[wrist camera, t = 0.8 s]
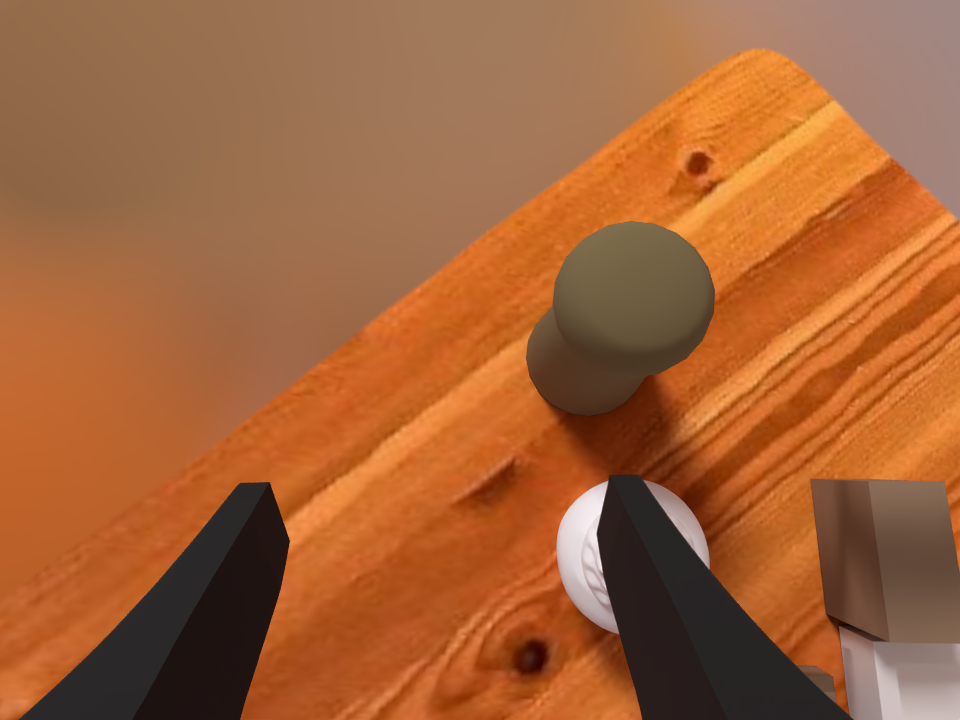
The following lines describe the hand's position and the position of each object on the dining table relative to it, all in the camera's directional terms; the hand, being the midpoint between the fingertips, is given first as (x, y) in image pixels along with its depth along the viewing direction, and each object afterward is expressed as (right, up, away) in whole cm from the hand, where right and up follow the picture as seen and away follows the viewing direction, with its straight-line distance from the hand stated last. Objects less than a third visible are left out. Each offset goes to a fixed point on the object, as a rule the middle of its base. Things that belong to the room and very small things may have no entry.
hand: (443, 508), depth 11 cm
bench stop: (+18, -5, +13) cm, 23 cm away
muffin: (+7, -5, +14) cm, 16 cm away
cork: (+6, +3, +16) cm, 17 cm away
